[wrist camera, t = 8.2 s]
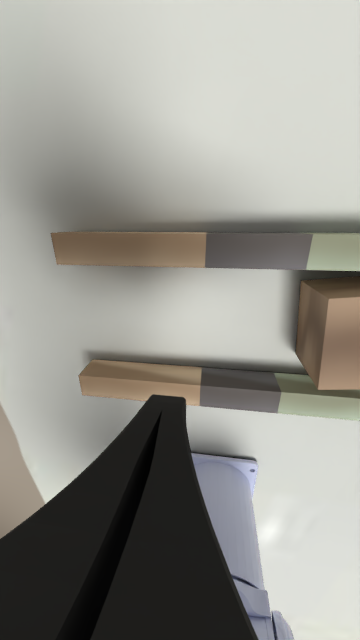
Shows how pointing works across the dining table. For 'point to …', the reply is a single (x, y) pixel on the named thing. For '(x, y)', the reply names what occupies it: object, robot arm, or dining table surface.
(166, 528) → the robot arm
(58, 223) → the dining table surface
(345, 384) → the tan wooden block
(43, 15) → the dining table surface
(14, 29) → the dining table surface
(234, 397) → the trap lane
